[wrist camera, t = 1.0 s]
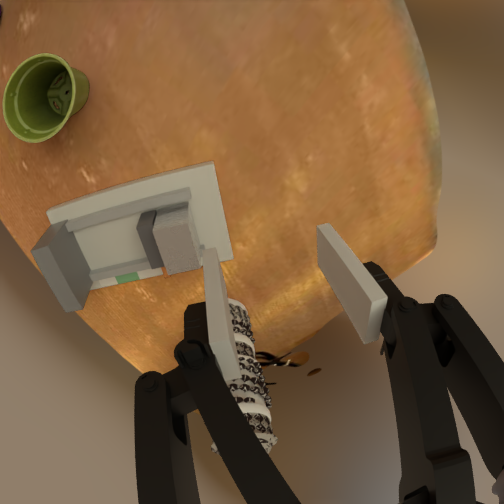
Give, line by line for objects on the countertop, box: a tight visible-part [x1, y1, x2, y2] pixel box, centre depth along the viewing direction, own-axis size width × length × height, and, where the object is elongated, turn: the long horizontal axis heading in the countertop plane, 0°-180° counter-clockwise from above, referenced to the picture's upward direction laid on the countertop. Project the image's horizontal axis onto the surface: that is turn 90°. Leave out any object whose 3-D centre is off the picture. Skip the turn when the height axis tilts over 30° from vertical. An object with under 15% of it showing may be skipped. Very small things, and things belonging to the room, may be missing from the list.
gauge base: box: [31, 161, 234, 312], centre depth 35 cm, size 14×24×8 cm, turn 98°
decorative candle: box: [211, 298, 278, 456], centre depth 39 cm, size 9×9×25 cm
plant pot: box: [3, 53, 89, 143], centre depth 23 cm, size 9×9×9 cm
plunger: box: [152, 202, 201, 275], centre depth 35 cm, size 6×4×6 cm, turn 8°
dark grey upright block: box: [136, 210, 171, 278], centre depth 37 cm, size 9×2×4 cm, turn 8°
